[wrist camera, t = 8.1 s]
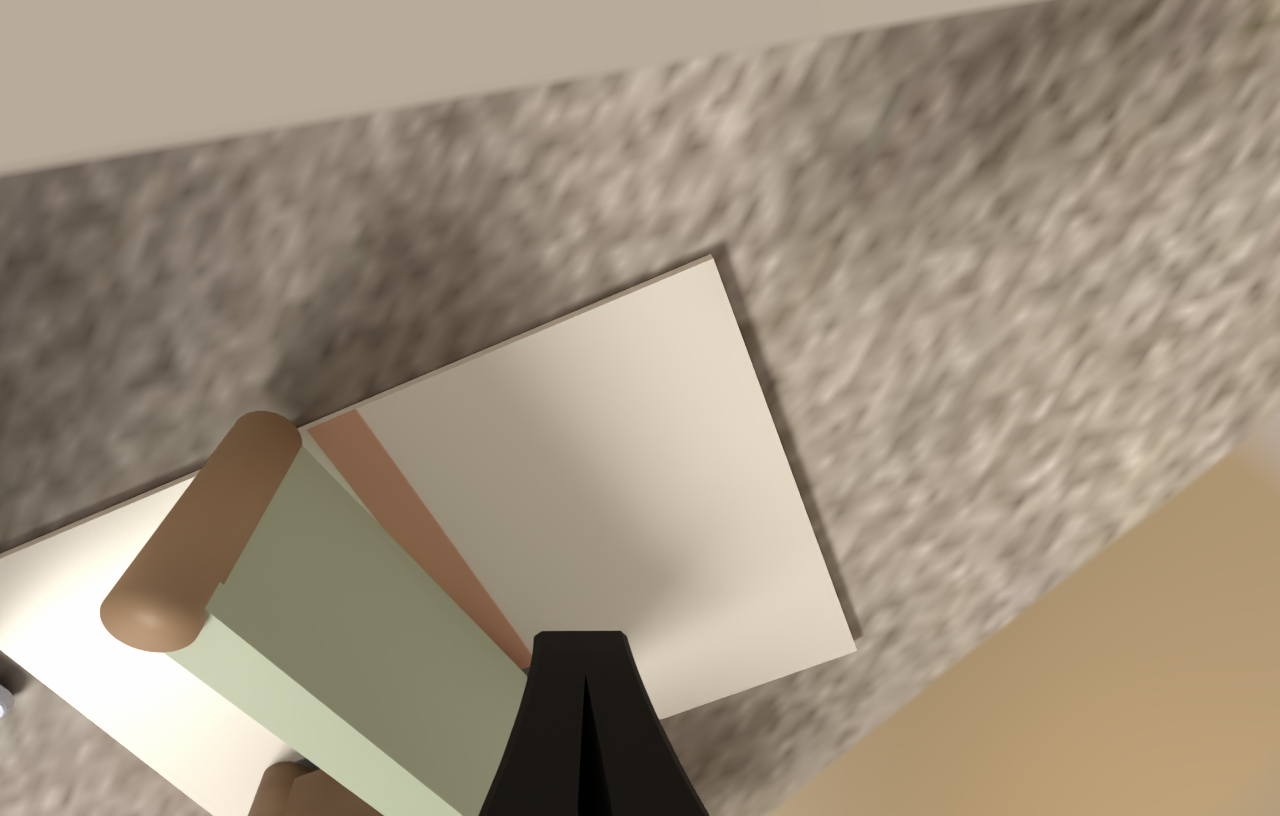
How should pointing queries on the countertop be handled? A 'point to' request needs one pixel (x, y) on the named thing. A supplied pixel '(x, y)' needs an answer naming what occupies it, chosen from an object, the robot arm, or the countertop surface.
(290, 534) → the gate panel
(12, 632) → the card
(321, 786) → the fence section
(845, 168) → the countertop surface
